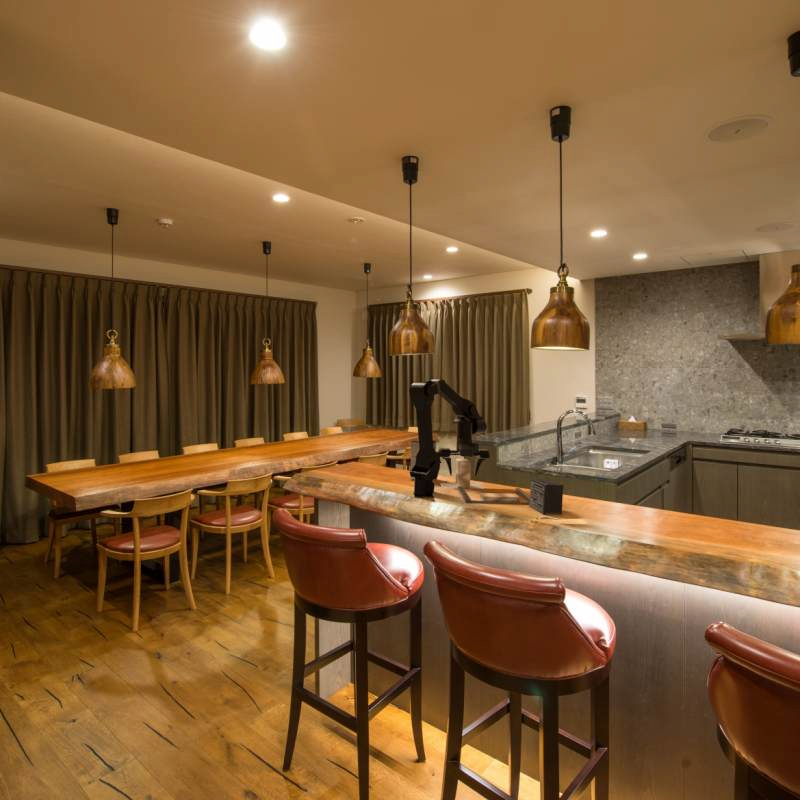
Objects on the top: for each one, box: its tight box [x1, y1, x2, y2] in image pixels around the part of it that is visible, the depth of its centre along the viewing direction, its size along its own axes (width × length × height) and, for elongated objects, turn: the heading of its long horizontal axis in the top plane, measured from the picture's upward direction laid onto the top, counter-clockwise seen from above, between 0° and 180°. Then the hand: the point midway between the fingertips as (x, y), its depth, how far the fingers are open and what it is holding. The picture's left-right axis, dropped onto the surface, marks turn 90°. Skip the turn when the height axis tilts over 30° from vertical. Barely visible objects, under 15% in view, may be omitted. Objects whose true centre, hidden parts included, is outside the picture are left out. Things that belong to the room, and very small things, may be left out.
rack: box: [456, 486, 530, 505], centre depth 176 cm, size 22×21×2 cm
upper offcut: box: [479, 492, 521, 502], centre depth 170 cm, size 12×5×2 cm, turn 97°
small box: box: [529, 477, 564, 518], centre depth 158 cm, size 11×6×10 cm, turn 9°
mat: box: [439, 482, 485, 490], centre depth 196 cm, size 16×14×1 cm
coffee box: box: [410, 439, 437, 480], centre depth 213 cm, size 9×6×16 cm
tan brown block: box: [455, 458, 472, 489], centre depth 196 cm, size 4×10×10 cm, turn 1°
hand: (463, 475), depth 196 cm, fingers open, 9 cm apart
